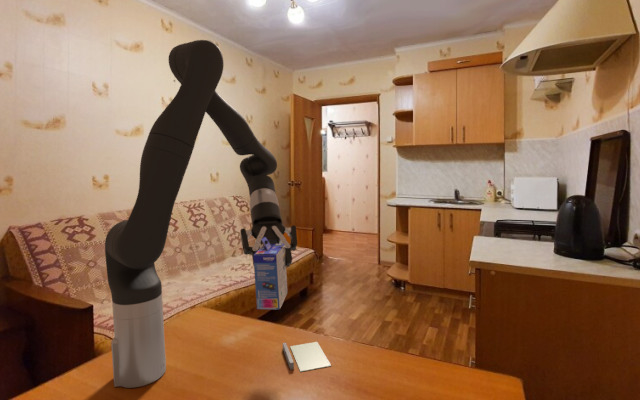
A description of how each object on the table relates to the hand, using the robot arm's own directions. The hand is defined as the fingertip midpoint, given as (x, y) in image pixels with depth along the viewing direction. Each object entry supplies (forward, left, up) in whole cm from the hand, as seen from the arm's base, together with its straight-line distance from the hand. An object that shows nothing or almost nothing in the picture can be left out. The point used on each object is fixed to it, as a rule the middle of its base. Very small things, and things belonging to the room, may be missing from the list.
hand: (273, 266), depth 77 cm
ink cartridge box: (-1, -2, -8) cm, 8 cm away
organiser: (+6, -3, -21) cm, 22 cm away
